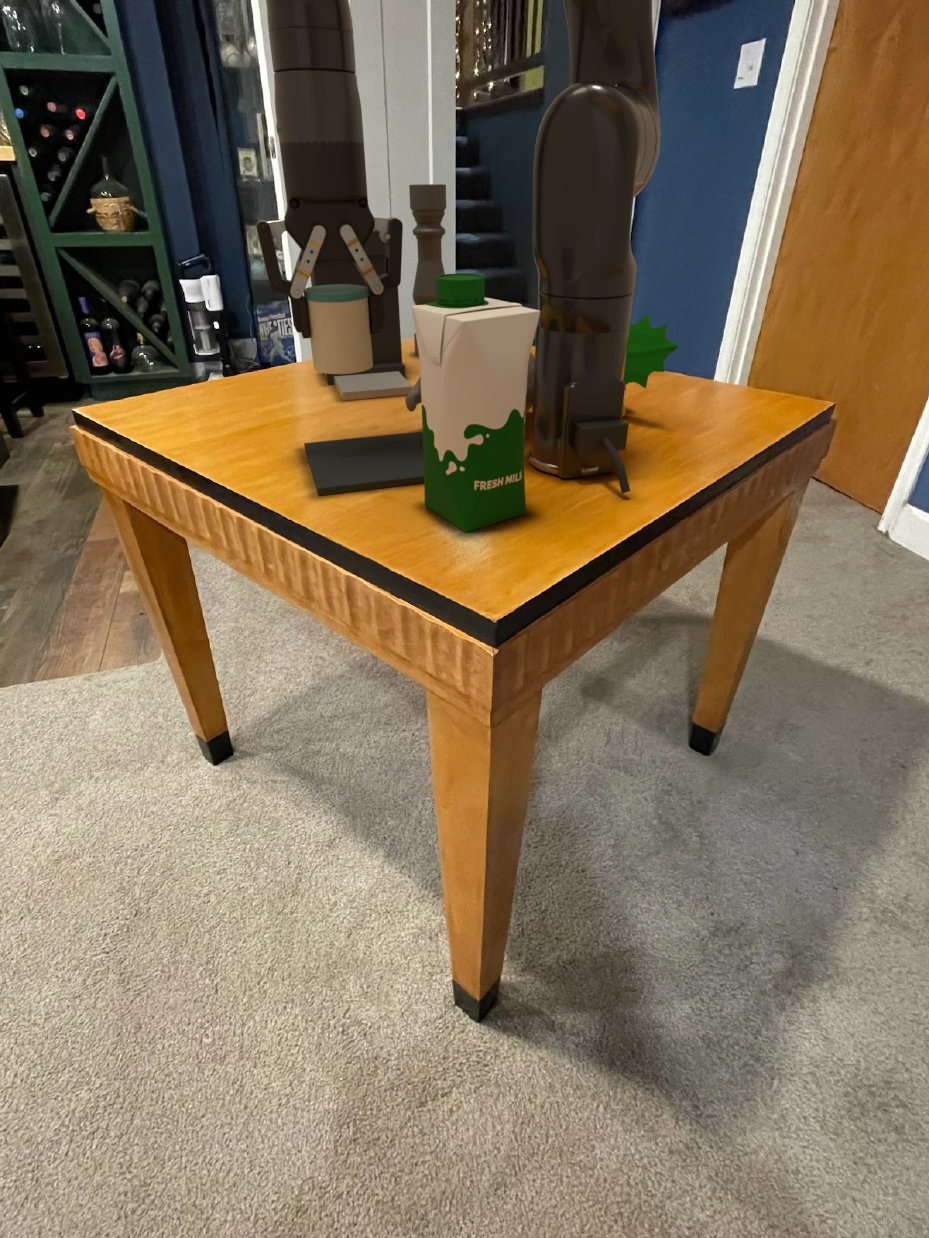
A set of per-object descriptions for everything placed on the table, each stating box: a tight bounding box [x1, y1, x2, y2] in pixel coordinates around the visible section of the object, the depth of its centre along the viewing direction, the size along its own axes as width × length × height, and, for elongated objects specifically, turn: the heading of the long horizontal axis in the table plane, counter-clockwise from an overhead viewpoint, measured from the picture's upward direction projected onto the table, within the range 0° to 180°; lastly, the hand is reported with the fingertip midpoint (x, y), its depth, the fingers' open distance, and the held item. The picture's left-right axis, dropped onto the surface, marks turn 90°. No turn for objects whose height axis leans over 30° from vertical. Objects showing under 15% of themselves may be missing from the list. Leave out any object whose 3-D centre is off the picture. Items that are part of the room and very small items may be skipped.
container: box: [303, 284, 373, 374], centre depth 71 cm, size 6×6×8 cm
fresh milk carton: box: [411, 273, 540, 533], centre depth 60 cm, size 9×9×20 cm
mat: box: [304, 431, 424, 496], centre depth 76 cm, size 14×14×1 cm
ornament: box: [533, 313, 679, 418], centre depth 89 cm, size 21×8×15 cm, turn 44°
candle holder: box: [408, 183, 447, 358], centre depth 113 cm, size 6×6×25 cm
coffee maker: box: [309, 229, 413, 402], centre depth 99 cm, size 17×12×20 cm
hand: (340, 334), depth 71 cm, fingers closed on container, 6 cm apart
